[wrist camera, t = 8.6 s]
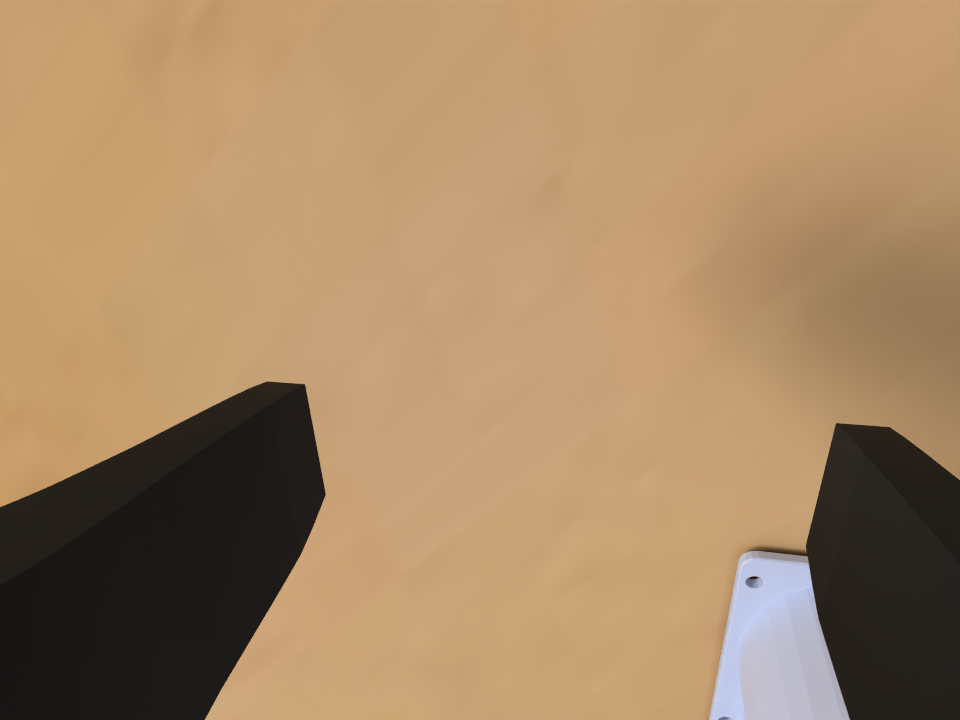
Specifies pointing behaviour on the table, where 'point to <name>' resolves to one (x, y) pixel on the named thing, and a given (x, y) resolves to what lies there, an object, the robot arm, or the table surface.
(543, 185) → the table surface
